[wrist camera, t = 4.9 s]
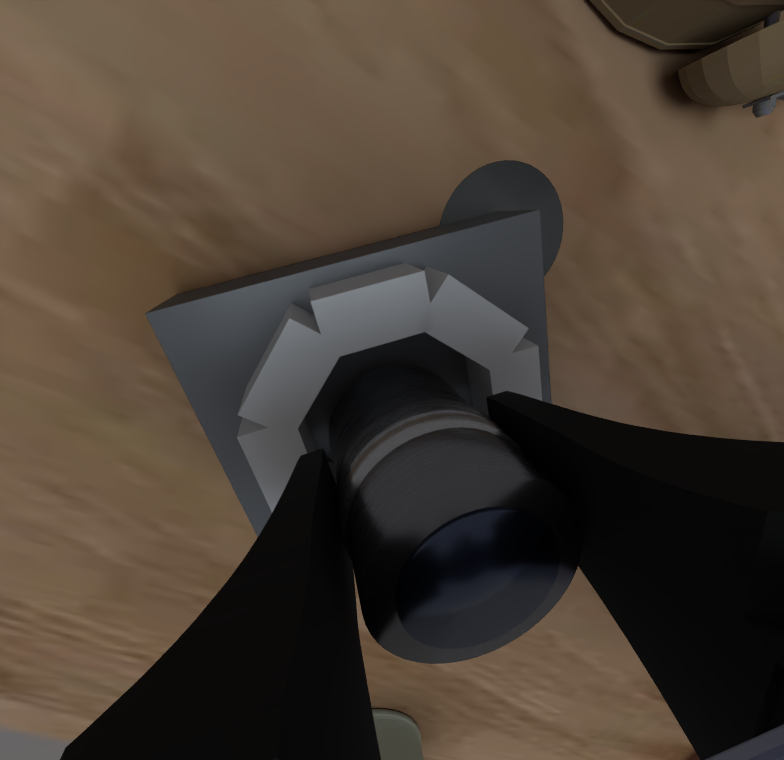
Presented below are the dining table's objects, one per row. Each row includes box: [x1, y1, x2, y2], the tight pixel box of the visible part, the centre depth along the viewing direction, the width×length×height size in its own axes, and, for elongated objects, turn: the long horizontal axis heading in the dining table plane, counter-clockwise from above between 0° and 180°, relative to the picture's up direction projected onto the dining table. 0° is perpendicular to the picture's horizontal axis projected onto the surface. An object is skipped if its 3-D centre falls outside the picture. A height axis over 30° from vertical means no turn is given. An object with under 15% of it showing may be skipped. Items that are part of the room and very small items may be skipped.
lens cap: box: [440, 161, 563, 276], centre depth 16 cm, size 5×5×1 cm
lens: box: [329, 365, 583, 664], centre depth 10 cm, size 5×5×6 cm
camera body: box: [145, 210, 551, 536], centre depth 14 cm, size 12×10×5 cm
